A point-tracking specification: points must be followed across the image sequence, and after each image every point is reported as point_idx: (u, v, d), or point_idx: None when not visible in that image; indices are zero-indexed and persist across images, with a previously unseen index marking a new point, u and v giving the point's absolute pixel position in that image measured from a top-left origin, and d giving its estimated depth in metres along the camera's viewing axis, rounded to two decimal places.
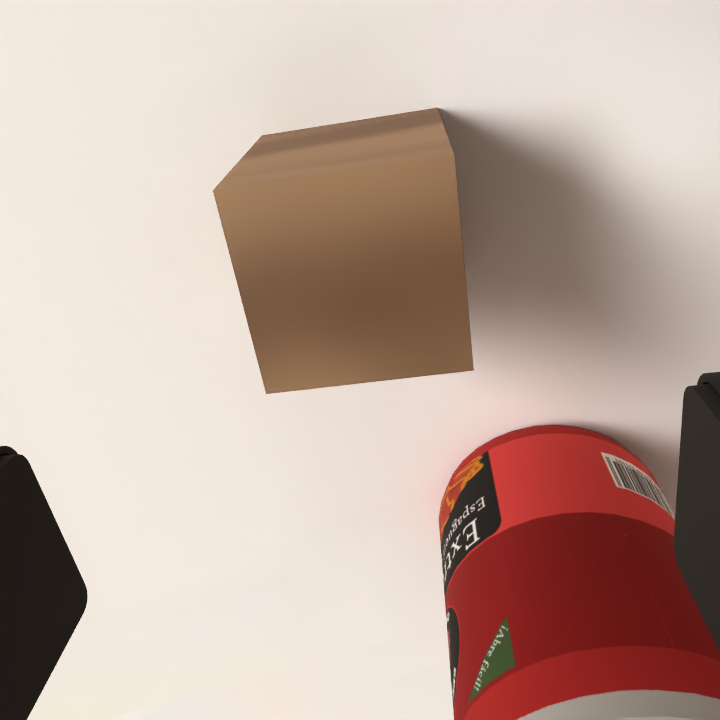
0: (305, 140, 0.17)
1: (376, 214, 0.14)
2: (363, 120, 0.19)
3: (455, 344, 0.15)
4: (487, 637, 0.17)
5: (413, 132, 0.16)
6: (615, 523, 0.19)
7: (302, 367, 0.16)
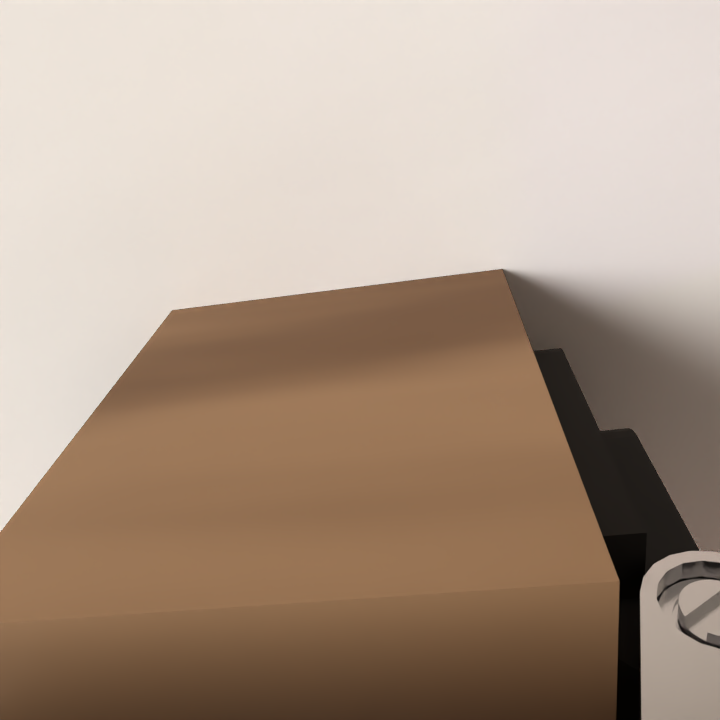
0: (238, 356, 0.08)
1: (381, 694, 0.05)
2: (360, 292, 0.10)
3: None
4: None
5: (468, 377, 0.07)
6: None
7: None
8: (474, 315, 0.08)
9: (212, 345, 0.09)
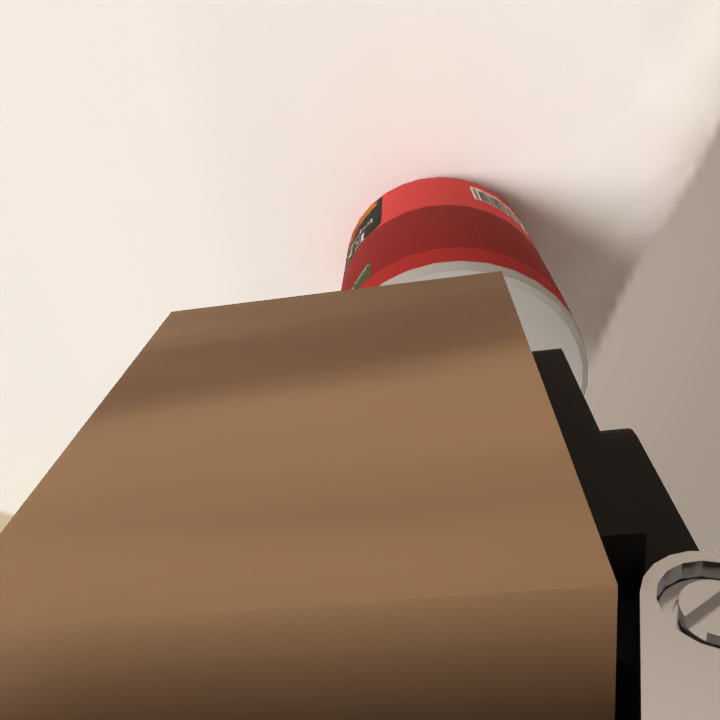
0: (237, 358, 0.08)
1: (381, 698, 0.05)
2: (359, 294, 0.10)
3: None
4: (356, 277, 0.22)
5: (467, 379, 0.07)
6: (464, 209, 0.24)
7: None
8: (473, 317, 0.08)
9: (211, 347, 0.09)
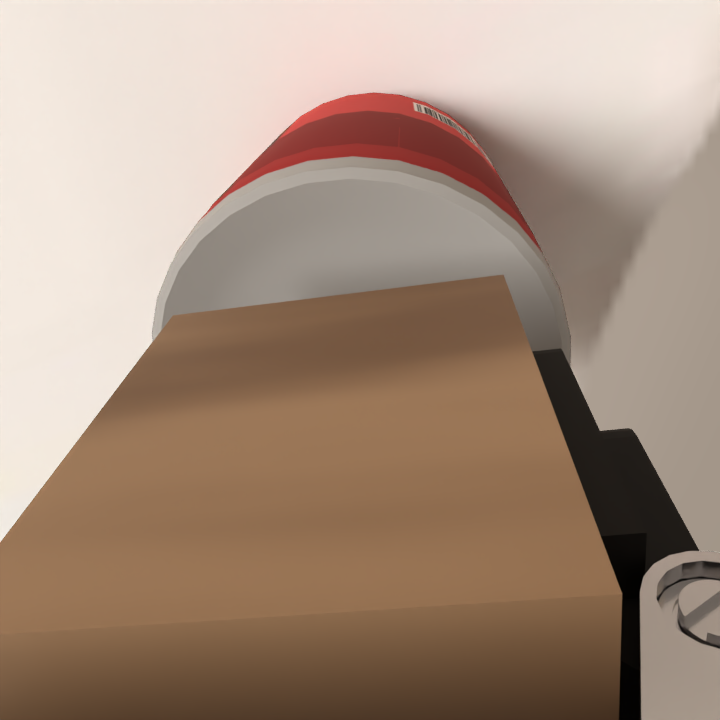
0: (239, 363, 0.08)
1: (384, 704, 0.05)
2: (361, 298, 0.10)
3: None
4: None
5: (469, 384, 0.07)
6: (392, 115, 0.16)
7: None
8: (475, 321, 0.08)
9: (213, 351, 0.09)
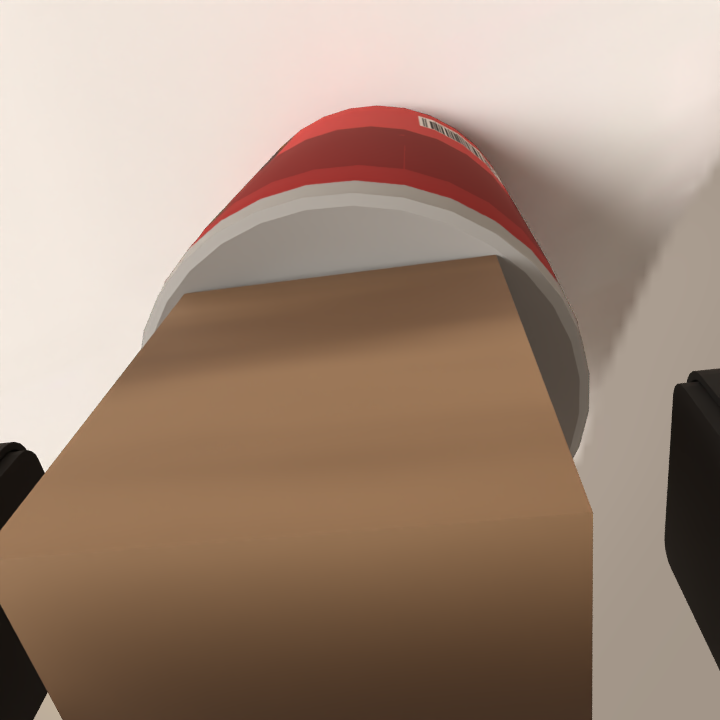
0: (248, 333, 0.09)
1: (383, 620, 0.06)
2: (362, 276, 0.10)
3: None
4: None
5: (462, 348, 0.08)
6: (396, 131, 0.15)
7: None
8: (469, 295, 0.09)
9: (224, 324, 0.10)
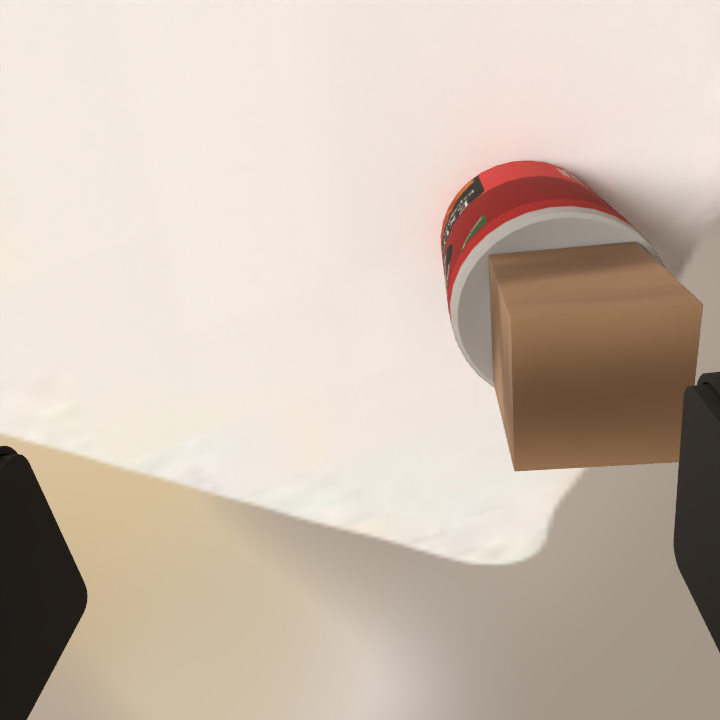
0: (541, 268, 0.22)
1: (634, 343, 0.18)
2: (575, 248, 0.23)
3: (675, 441, 0.20)
4: (471, 227, 0.27)
5: (640, 271, 0.21)
6: (559, 179, 0.28)
7: (548, 452, 0.20)
8: (632, 255, 0.22)
9: (524, 265, 0.22)
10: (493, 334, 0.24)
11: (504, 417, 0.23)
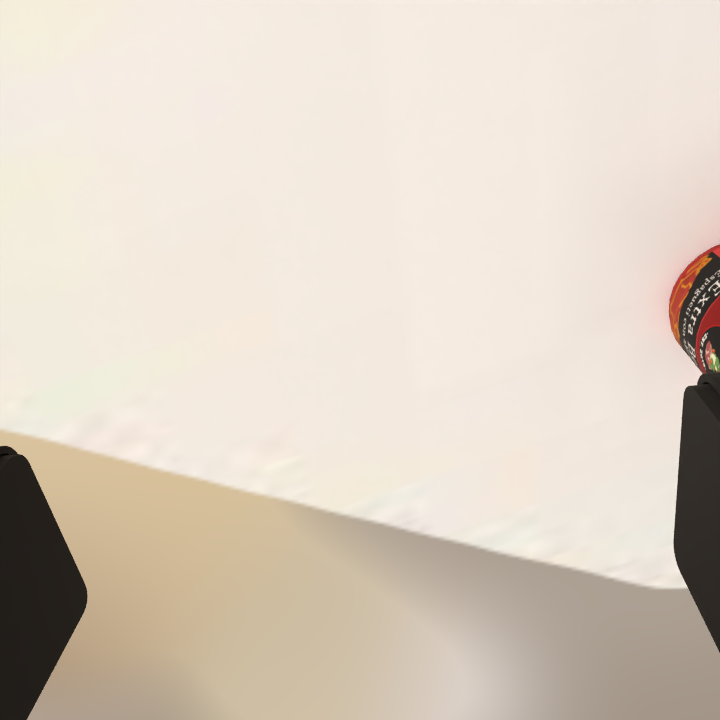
0: None
1: None
2: None
3: None
4: None
5: None
6: None
7: None
8: None
9: None
10: None
11: None
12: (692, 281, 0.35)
